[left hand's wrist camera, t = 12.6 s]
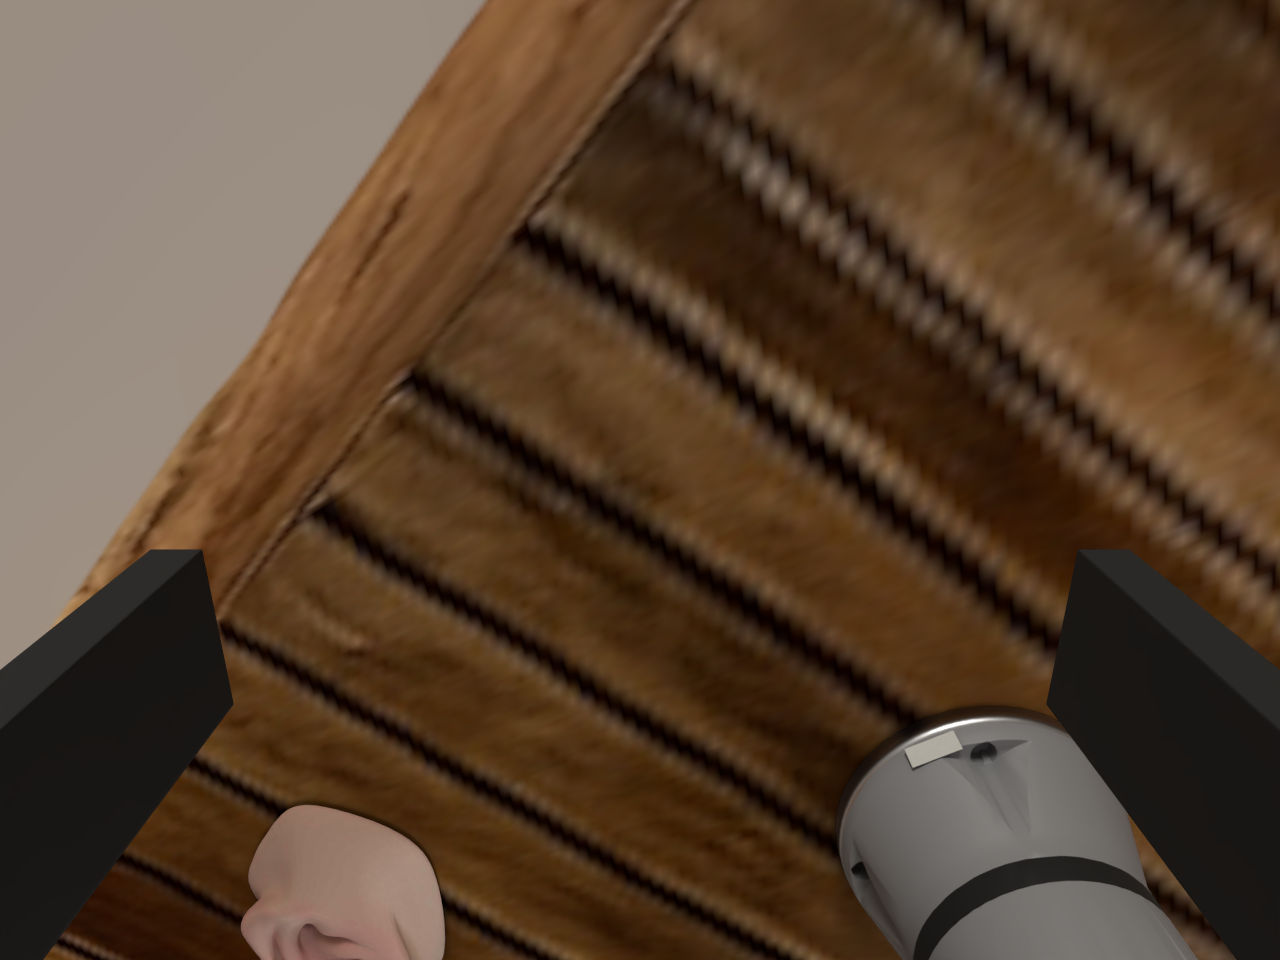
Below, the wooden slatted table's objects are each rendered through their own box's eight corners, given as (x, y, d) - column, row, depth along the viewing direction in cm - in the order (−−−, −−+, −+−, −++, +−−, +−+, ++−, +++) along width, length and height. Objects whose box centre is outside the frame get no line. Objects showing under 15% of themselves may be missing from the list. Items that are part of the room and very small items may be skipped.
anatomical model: (212, 851, 43) (438, 874, 44) (246, 796, 47) (454, 818, 47) (223, 1031, 48) (426, 1050, 48) (253, 968, 51) (442, 986, 52)
